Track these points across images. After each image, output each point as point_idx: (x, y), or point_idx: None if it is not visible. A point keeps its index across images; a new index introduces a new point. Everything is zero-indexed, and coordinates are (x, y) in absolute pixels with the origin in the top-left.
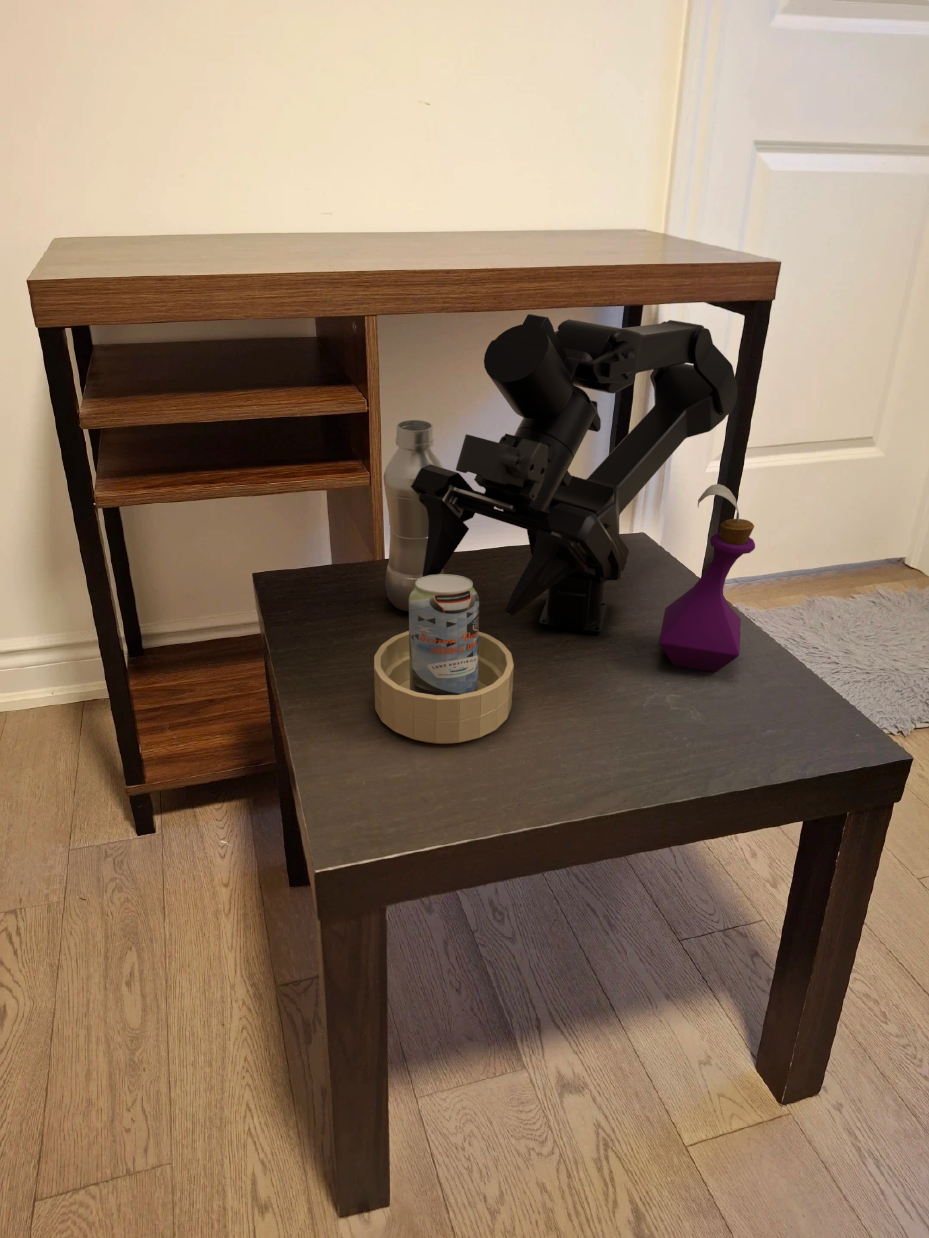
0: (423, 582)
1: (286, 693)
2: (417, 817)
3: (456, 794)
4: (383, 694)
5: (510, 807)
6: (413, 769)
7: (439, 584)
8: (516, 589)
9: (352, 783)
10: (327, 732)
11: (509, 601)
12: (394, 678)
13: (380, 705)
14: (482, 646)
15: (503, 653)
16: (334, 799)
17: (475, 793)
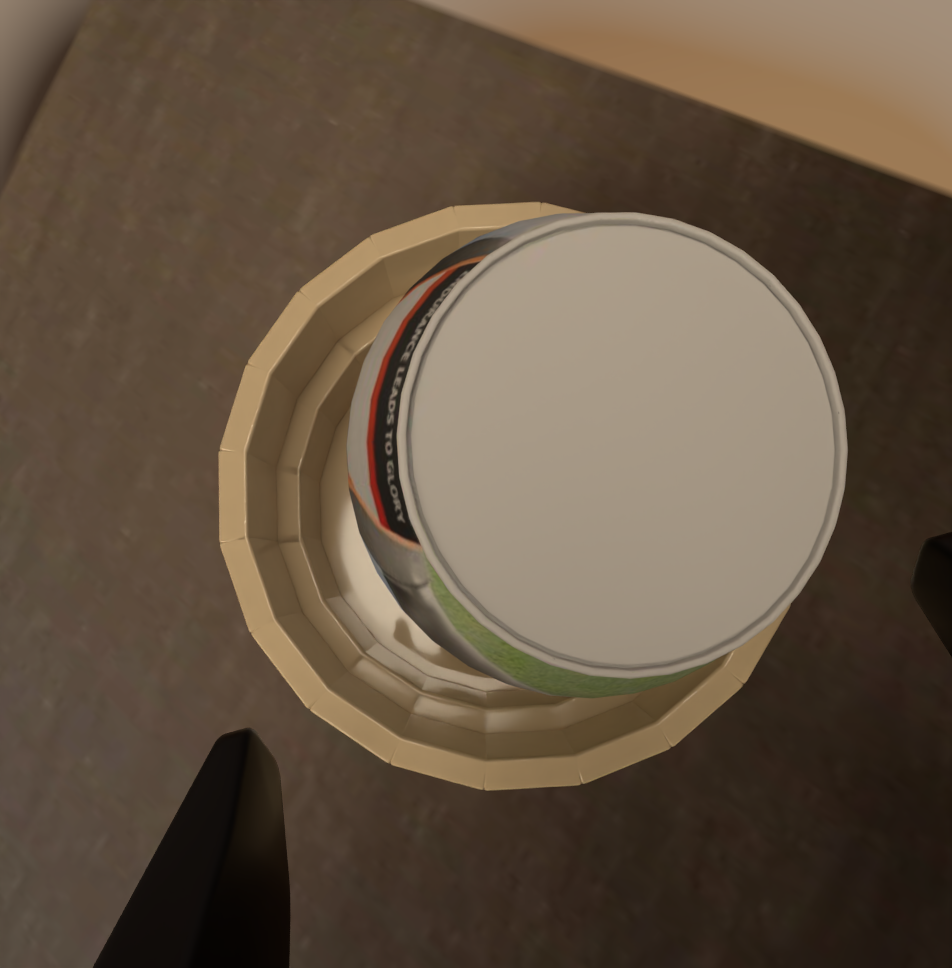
0: (740, 326)
1: (841, 153)
2: (133, 156)
3: (140, 288)
4: None
5: (4, 372)
6: (300, 255)
7: (629, 394)
8: (190, 886)
9: (350, 96)
10: (591, 154)
11: (229, 782)
12: None
13: None
14: (573, 737)
15: (416, 738)
16: (323, 30)
17: (110, 331)
